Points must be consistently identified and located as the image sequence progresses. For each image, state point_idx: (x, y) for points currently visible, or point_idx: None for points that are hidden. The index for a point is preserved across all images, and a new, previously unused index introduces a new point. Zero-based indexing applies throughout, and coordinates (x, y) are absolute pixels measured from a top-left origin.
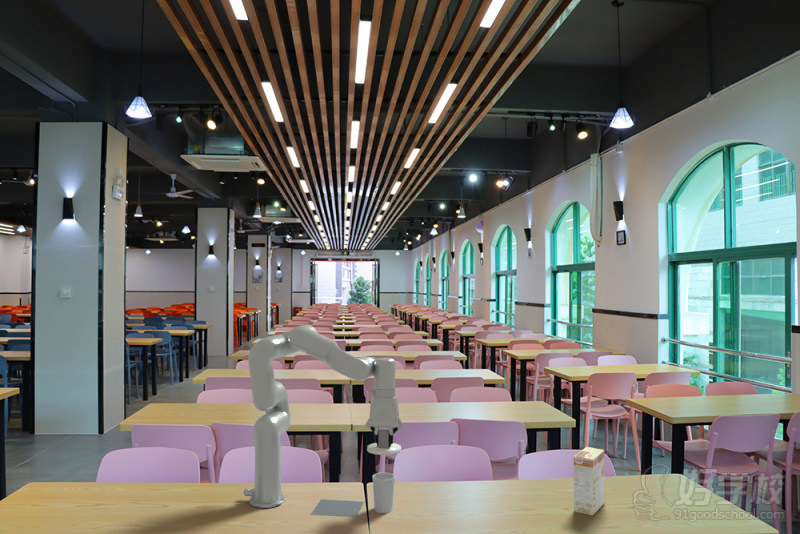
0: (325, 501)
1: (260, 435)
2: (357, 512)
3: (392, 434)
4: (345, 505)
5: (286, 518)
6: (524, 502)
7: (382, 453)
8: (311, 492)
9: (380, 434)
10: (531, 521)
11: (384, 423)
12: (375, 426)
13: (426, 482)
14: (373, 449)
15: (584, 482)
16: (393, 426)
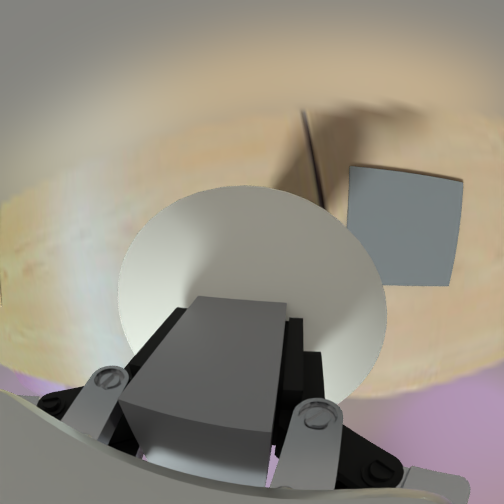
0: (440, 272)
1: None
2: (353, 200)
3: (108, 375)
4: (391, 250)
5: (497, 168)
6: (36, 297)
7: (235, 186)
8: (461, 330)
9: (247, 389)
10: (19, 218)
11: (83, 498)
12: (331, 490)
13: None
14: (330, 258)
15: None
16: (5, 391)
